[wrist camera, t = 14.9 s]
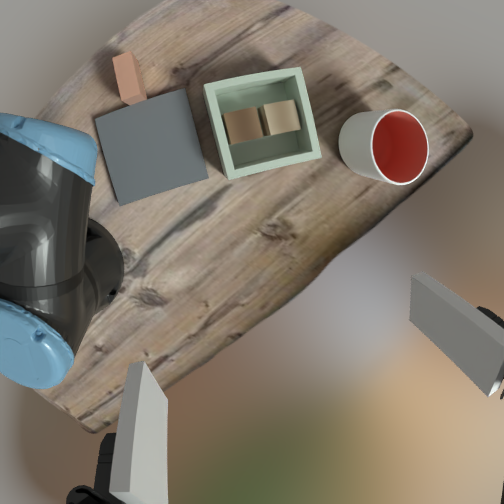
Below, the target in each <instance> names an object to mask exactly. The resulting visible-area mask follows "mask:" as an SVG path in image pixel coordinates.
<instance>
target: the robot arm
mask: <svg viewBox="0 0 504 504" xmlns="http://www.w3.org/2000/svg"><path fill="white" fill-rule="evenodd" d="M96 158H97V145H96V142H95V141H94V139H93V138H92V137H91V136H90V135H89V134H87V133H84V132H82V131H79V130H76V129H73V128H70V127H66V126H63V125H59V124H55V123H51V122H47V121H43V120H38V119H33V118H25V117H22V116H16V115H12V114H7V113H0V372H1V373H2V374H3V375H5V376H6V377H8V378H9V379H11V380H13V381H15V382H17V383H19V384H21V385H24V386H27V387H30V388H35V389H47V388H51V387H52V386H55V385H58V384H59V383H60V382H61V381H62V380H63V379H64V377H65V376H66V374H67V372H68V370H69V369H70V368H71V367H72V365H73V363H74V358H75V355H76V353H77V351H78V348H79V346H80V344H81V342H82V339H83V337H84V335H85V333H86V331H87V328H88V326H89V324H90V322H91V320H92V318H93V315H95V314H97V313H98V312H100V311H101V310H103V309H105V308H106V307H107V306H108V305H110V304H111V302H112V301H113V300H114V299H115V297H116V296H117V294H118V292H119V289H120V287H121V285H122V282H123V277H124V262H123V257H122V253H121V251H120V248H119V246H118V244H117V242H116V241H115V239H114V238H113V237H112V235H111V234H110V233H109V232H108V231H107V230H106V229H105V228H104V227H103V226H101V225H100V224H98V223H97V222H95V221H93V220H91V219H88V216H89V207H90V200H91V193H92V186H95V180H94V173H95V165H96ZM409 320H410V321H411V322H412V323H413V324H414V325H415V326H416V327H417V328H419V330H420V331H421V332H423V333H424V334H425V335H426V336H427V337H428V338H429V339H430V340H431V341H432V342H433V343H434V344H435V345H436V346H437V347H438V348H439V349H441V351H442V352H443V353H444V354H446V355H447V356H448V357H449V358H450V359H451V360H452V361H453V362H454V363H455V364H456V365H457V366H458V367H459V368H460V369H461V370H462V371H463V372H464V373H465V374H466V375H467V376H468V377H469V378H470V379H471V380H472V381H473V382H474V383H475V384H476V385H477V386H478V387H479V389H481V391H483V393H485V395H486V396H487V397H489V396H490V395H491V394H493V393H494V392H495V391H496V390H497V389H499V387H500V385H501V383H502V380H503V379H504V321H503V320H502V319H501V318H500V317H497V315H496V314H494V313H493V312H492V311H490V310H489V309H486V308H483V307H480V306H479V307H477V308H475V307H474V306H472V305H471V304H469V303H468V302H467V301H465V300H464V299H463V298H461V297H460V296H458V295H457V294H455V293H454V292H453V291H451V290H450V289H448V288H447V287H445V286H444V285H442V284H441V283H440V282H438V281H437V280H435V279H434V278H432V277H431V276H429V275H427V274H426V273H425V272H423V271H422V272H420V273H417V274H415V275H412V276H411V301H410V319H409ZM503 396H504V390H503V392H502V394H501V397H500V399H503ZM167 411H168V399H167V398H166V397H165V395H164V393H163V392H162V390H161V388H160V387H159V385H158V383H157V382H156V380H155V379H154V377H153V375H152V373H151V372H150V370H149V368H148V367H147V365H146V363H145V361H141V362H136V363H132V364H129V368H128V373H127V378H126V383H125V388H124V393H123V398H122V404H121V409H120V415H119V421H118V428H117V433H107V434H106V436H105V437H104V439H103V441H102V442H101V445H100V451H99V456H98V465H97V469H96V476H95V483H94V490H93V489H92V488H91V487H88V486H85V485H82V486H77V487H75V488H73V489H72V490H71V491H70V492H69V494H68V496H67V500H66V504H168V489H167ZM501 504H504V483H503V491H502V498H501Z"/></svg>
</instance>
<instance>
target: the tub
mask: <svg viewBox="0 0 504 504" xmlns="http://www.w3.org/2000/svg"><path fill="white" fill-rule="evenodd" d="M203 96H204V100H205V104H206V108H207V111H208V115H209V119H210V123H211V127H212V131H213V135H214V139H215V142H216V146H217V150H218V154H219V158H220V162H221V165H222V169H223V173H224V176H225V177H226V178H227V179H228V180H231V179H235V178H238V177H242V176H246V175H250V174H254V173H258V172H262V171H266V170H270V169H274V168H278V167H282V166H286V165H291V164H295V163H299V162H304V161H308V160H313V159H317V158H322V157H321V152H320V147H319V142H318V137H317V133H316V128H315V123H314V119H313V114H312V110H311V106H310V102H309V97H308V93H307V89H306V85H305V81H304V77H303V74H302V70H301V67H296V68H288V69H281V70H274V71H268V72H261V73H256V74H250V75H245V76H240V77H235V78H230V79H225V80H221V81H216V82H212V83H208V84H204V87H203ZM293 99H294V101H295V106H296V110H297V114H298V118H299V123H300V127H301V129H300V130H295V131H290V132H285V133H280V134H275V135H270V136H264V134H263V130H262V126H261V122H260V118H259V114H258V110H257V108H259V107H260V106H262V105H265V104H270V103H276V102H281V101H287V100H293ZM255 106H256V110H257V114H258V118H259V122H260V126H261V130H262V134H263V137H261V138H257V139H253V140H248V141H244V142H240V143H236V144H232V145H228V142H227V138H226V134H225V130H224V126H223V122H222V118H221V116H222V115H223V114H224V113H228V112H232V111H237V110H241V109H246V108H250V107H255Z"/></svg>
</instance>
